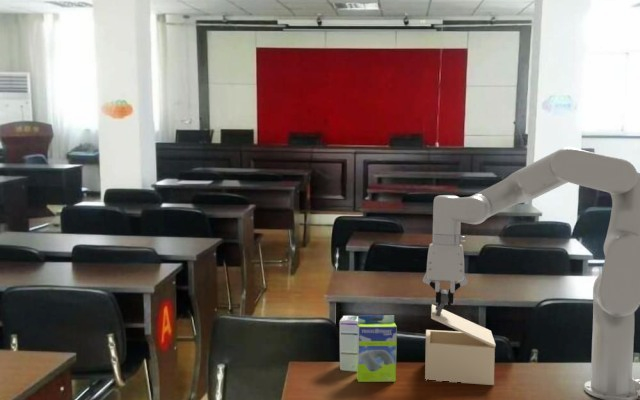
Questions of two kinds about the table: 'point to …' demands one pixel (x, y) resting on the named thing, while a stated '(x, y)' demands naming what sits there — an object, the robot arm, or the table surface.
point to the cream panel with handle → (460, 322)
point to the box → (376, 349)
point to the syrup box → (348, 343)
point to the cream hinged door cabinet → (458, 358)
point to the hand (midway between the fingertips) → (444, 305)
